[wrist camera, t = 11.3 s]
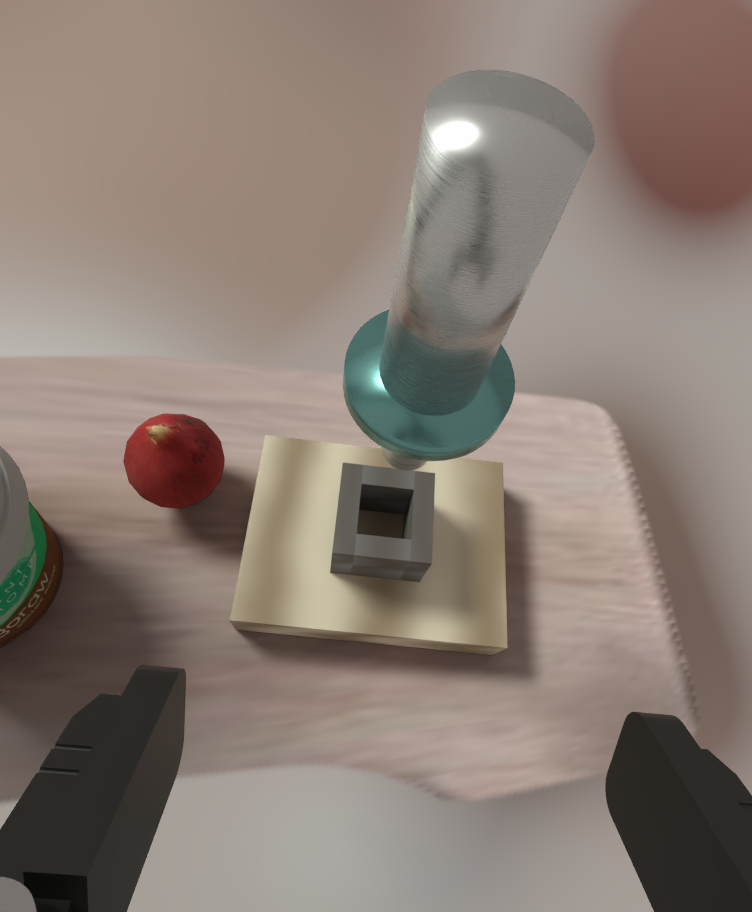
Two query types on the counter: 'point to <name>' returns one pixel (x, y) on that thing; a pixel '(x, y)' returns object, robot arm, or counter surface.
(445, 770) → the counter surface
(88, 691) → the counter surface
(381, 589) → the wooden base with socket
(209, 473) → the onion
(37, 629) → the counter surface
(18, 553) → the food container
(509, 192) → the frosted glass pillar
